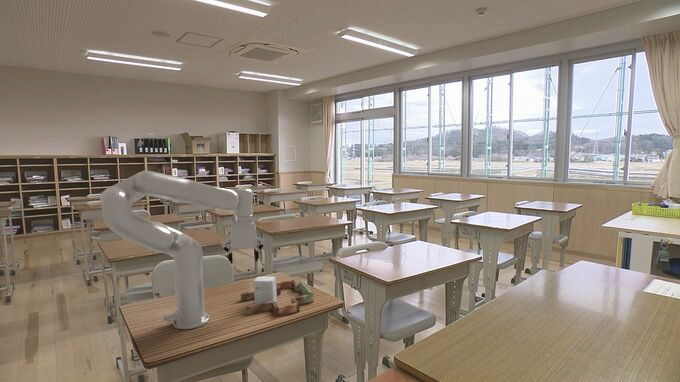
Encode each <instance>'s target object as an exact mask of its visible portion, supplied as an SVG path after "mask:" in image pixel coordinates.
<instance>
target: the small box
mask: <svg viewBox="0 0 680 382" xmlns="http://www.w3.org/2000/svg"><path fill="white" fill-rule="evenodd" d="M276 279H277V278H276V276H257V277H256V278H255V279H254V280H253V291H254V298H255V299H254V304H259V303H265V302H270V301H275V303H277V301H278V298H277V297H278V295H277V291H276V282H277V280H276Z"/></svg>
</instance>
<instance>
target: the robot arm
mask: <svg viewBox="0 0 680 382" xmlns="http://www.w3.org/2000/svg"><path fill="white" fill-rule="evenodd" d="M253 194H254V193H253V190H252V189H251V188H248V187H244V188H243V187H242V188H240V187H239V188H224V187H223V188H221V187H218V186H215V185H214V186H213V185H209V184H205V183H201V182H199V181H196V180H193V179H189V178H185V177H184V178H183V177H179V176H174V175H169V174H165V173H161V172H156V171H151V170H142V171H139V172H137V173H135V174H133V175H131V176H129V177H127V178H126V179H123V180H121V181H119V182H117V183H115V184H113V185H111V186H109V187H107V188H105V190H103V191H102V192H101V194H100V197H99V202H100V205H101V214H102V219H103V222H104V224H105V225H106V226H107V228H108V229H109V230H110V231H111V232H113V233H114V234H116V235H118V236H120V237H122V238H124V239H127V240H128V241H131V242H133V243H135V244H137V245H139V246H141V247H144V248H146V249H148V250H150V251H152V252H156V253H163V254H165V255H168V256H170V257H171V258H172V259H173V260H174V261H173V262H174V264H173V265H174V267H173V271H174V272H173V278H174V290H175V292H174V294H175V305H176V308H175V312H172V313H170V314H163V321H166V323H169V322H170V323H171V322H172V326H173V327H174V328H175V329H178V330H191V329H196V328H200V327H202V326H204V325H206V324H207V323H208V322H209V321H210V314H209V313H207V312H205V298H204V297H205V296H204V295H205V294H204V278H203V261H204V260H203V259H204V257H203V256H204V255H203V248H202V246H201V244H200V243H199V242H198V241H197V240H196V239H194V238H193V237H191V236H190V235H187V234H185V233H183V232H181V231H179V230H177V229H174V228H173V227H171V226H168V225H166V224H164V223H162V222H158V221H152V220H149V219H147V218H145V217H144V216H141V215H139V214H137V213H136V212H134V211H133V209H132V204H133V203H135V202H138V201H140V200H141V199H143V198H145V197H146V196H147V197H151V198H152V197H153V198H157V199H163V200H167V201H168V200H169V201H174V202H180V203H184V204H189V205H199V206H202V207H209V208H213V209H218V210H219V209H220V210H225V211H232V210H233V211H232V213H233V215H232V216H229V222H230V221H231V222H232V223H231V226H230V233H229V235H230V236H229V237H228V238H226V239H225V240H223V241H221V242H220V245H221V247H222V248H223V250H224V251H225V252H226V253H227V254H228V262H230V264H231V265H232V264H233V262H234V261H233V251H234V250H245V249H247V250H248V249H255V250H254V261H255V262H258V260H259V259H260V251H261V250H262V249H263V247H264V246H265V244H266V239H265V238H263V237H260V236H258V234H257V227H256V222H254V204H253V197H254V196H253ZM258 241H259V242H260V244H259V245H258ZM228 243H230V247H229V248H228V246H226V244H228Z"/></svg>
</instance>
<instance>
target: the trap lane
mask: <svg viewBox="0 0 680 382" xmlns="http://www.w3.org/2000/svg"><path fill="white" fill-rule="evenodd" d="M288 288H289V289H290V288H293V290H294V291H295V292H301V293H302V295H299V296H293V297H290V304H284V305H278V304H277V302H275V301H270V302H265V303H259V304H255V303H254V304H248V305H246V307H245V308H246V315H252V314H256V313H257V314H258V313H262V312H267V311H272V312H273V313H274V315H275V316H282V315H286V314H293V313H297V312H300V311H301V310H300V309H301V308H300V305H303V304H304V305H305V304H308V303H309V304H310V303H314V300H315V299H314V292H313V291H312V290H311V289H310V288H309V287H308V285H306V284H305V283H304V281H301V280H299V281H298V282H297V281H295V279H290V280H284V281H276V291H277V296H279V295H281V294H282V292H281V291H282V290H283V289H288ZM250 300H255V298H254V290H253V291H247V292H240V301H241V302H243V301H244V302H245V301H250Z"/></svg>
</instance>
